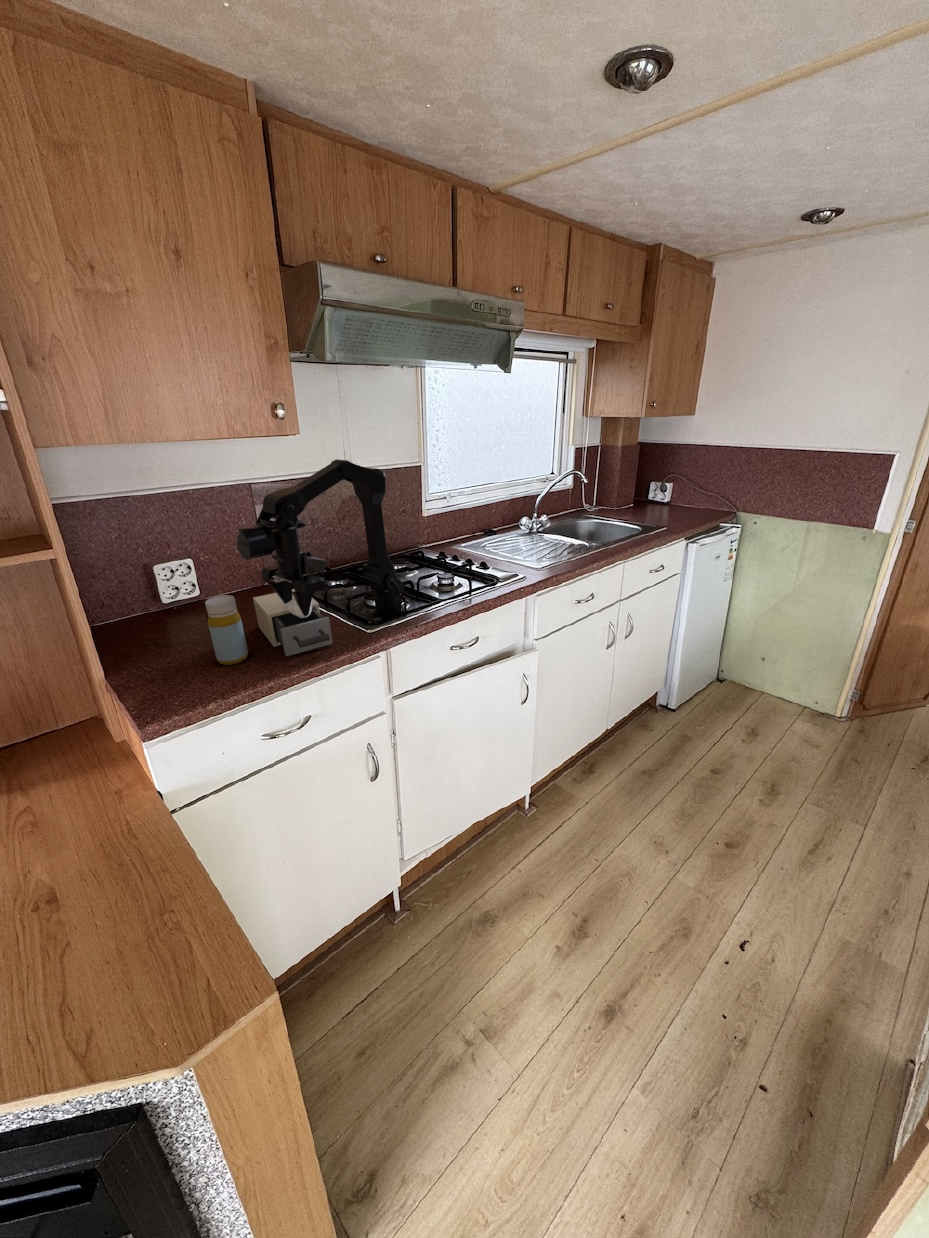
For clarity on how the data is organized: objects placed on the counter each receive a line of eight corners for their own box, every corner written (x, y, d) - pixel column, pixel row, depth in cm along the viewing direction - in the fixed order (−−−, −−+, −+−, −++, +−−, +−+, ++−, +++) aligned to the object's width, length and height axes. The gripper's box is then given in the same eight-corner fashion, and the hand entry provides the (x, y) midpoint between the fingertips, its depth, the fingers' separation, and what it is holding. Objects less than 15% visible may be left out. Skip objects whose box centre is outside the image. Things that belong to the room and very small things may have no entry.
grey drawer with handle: (340, 651, 127) (337, 625, 124) (293, 665, 121) (288, 638, 119) (314, 625, 141) (310, 601, 139) (270, 636, 136) (266, 612, 133)
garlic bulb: (291, 611, 133) (289, 590, 131) (314, 613, 132) (311, 592, 129) (280, 619, 128) (277, 598, 126) (303, 621, 127) (300, 600, 125)
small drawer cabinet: (323, 634, 139) (318, 603, 135) (273, 647, 132) (267, 615, 129) (305, 616, 150) (300, 587, 146) (258, 627, 144) (252, 597, 140)
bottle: (238, 666, 123) (224, 606, 117) (211, 664, 125) (196, 605, 119) (254, 653, 129) (242, 595, 124) (228, 651, 131) (215, 593, 125)
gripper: (340, 548, 122) (349, 611, 129) (296, 535, 134) (305, 594, 140) (298, 559, 115) (308, 626, 121) (254, 545, 127) (266, 606, 133)
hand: (298, 612), depth 129 cm, fingers closed on garlic bulb, 7 cm apart
